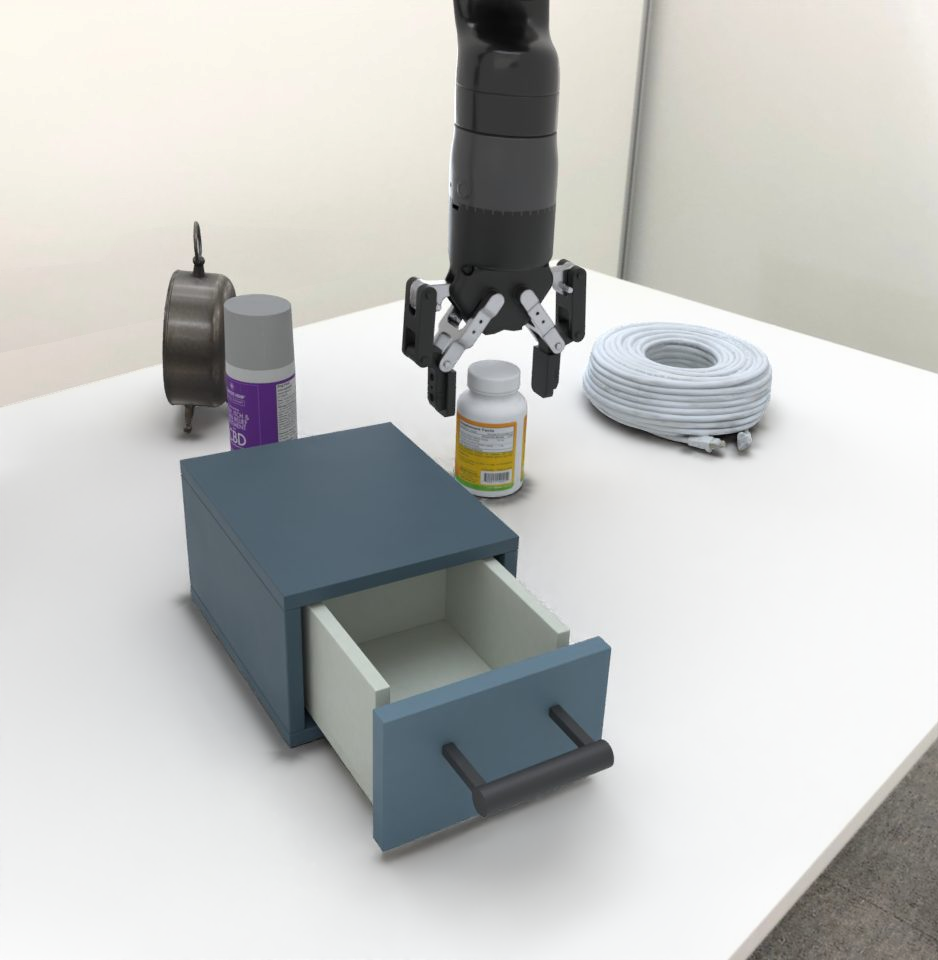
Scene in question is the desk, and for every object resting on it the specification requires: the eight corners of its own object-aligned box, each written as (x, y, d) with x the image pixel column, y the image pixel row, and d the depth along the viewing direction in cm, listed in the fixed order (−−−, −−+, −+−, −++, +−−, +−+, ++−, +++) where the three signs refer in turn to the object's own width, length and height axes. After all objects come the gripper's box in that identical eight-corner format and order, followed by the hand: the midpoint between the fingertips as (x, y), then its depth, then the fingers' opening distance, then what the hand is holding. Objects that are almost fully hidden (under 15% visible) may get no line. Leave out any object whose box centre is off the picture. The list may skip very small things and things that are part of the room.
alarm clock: (185, 385, 104) (170, 202, 97) (249, 386, 106) (240, 205, 98) (164, 439, 95) (146, 241, 88) (235, 440, 96) (223, 244, 89)
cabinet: (510, 675, 72) (519, 536, 68) (290, 748, 65) (283, 596, 60) (389, 547, 84) (390, 421, 80) (190, 596, 76) (179, 459, 72)
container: (221, 504, 87) (207, 308, 80) (254, 477, 91) (244, 289, 84) (279, 517, 86) (271, 320, 79) (310, 489, 90) (305, 300, 83)
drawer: (650, 821, 61) (667, 697, 58) (427, 919, 54) (431, 786, 50) (461, 621, 75) (465, 512, 72) (265, 678, 68) (258, 560, 65)
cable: (748, 464, 102) (758, 399, 99) (554, 424, 105) (559, 360, 102) (780, 392, 117) (789, 334, 114) (610, 359, 120) (615, 301, 118)
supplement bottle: (482, 461, 97) (487, 349, 93) (536, 481, 95) (544, 368, 91) (440, 484, 93) (443, 368, 89) (495, 506, 91) (501, 389, 86)
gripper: (560, 173, 90) (547, 372, 98) (385, 185, 82) (386, 400, 90) (616, 199, 85) (598, 406, 92) (436, 214, 77) (432, 440, 84)
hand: (493, 403), depth 91 cm, fingers open, 8 cm apart
